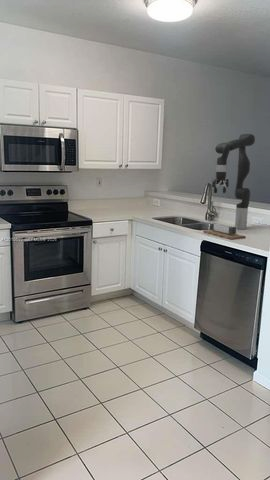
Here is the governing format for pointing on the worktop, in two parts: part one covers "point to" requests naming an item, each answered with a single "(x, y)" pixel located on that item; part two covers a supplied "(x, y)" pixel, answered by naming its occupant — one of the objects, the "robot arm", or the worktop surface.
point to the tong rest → (224, 234)
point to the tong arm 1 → (224, 228)
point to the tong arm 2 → (230, 226)
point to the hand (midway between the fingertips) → (219, 192)
